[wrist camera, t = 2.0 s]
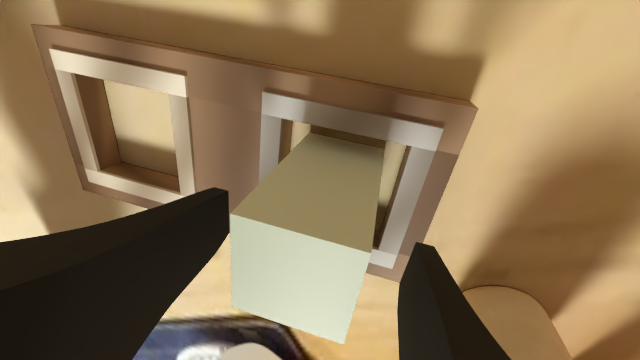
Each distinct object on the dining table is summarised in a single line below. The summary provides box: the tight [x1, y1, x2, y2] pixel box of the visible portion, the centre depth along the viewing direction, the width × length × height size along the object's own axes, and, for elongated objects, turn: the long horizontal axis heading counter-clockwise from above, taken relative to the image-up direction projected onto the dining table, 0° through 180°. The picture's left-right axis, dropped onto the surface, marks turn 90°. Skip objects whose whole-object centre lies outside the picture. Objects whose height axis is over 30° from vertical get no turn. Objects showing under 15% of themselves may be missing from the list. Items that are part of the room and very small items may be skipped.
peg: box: [230, 133, 385, 344], centre depth 12 cm, size 4×4×8 cm
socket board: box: [31, 24, 478, 283], centre depth 15 cm, size 22×10×2 cm, turn 82°
